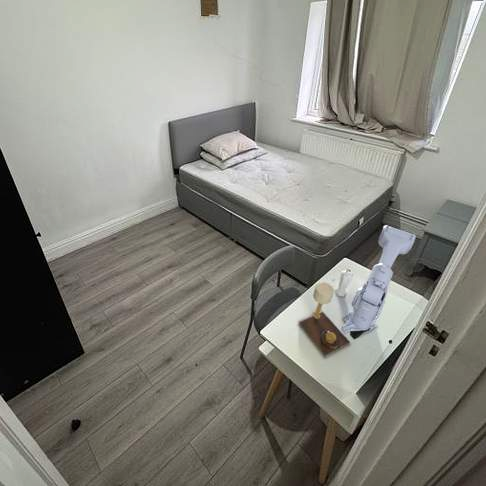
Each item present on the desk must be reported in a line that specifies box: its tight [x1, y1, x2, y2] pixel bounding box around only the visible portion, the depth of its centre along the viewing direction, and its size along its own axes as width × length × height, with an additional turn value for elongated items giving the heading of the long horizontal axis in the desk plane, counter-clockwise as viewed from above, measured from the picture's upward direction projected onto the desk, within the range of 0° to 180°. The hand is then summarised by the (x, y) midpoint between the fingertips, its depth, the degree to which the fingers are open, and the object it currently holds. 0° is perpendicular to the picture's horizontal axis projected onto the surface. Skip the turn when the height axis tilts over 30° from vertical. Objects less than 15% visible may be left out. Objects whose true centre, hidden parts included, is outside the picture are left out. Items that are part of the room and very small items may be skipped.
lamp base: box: [298, 311, 351, 358], centre depth 112 cm, size 12×15×4 cm
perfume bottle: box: [335, 267, 354, 298], centre depth 125 cm, size 5×4×15 cm
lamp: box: [312, 281, 335, 319], centre depth 112 cm, size 6×6×17 cm
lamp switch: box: [325, 332, 336, 344], centre depth 108 cm, size 4×4×2 cm
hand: (353, 336), depth 101 cm, fingers closed
